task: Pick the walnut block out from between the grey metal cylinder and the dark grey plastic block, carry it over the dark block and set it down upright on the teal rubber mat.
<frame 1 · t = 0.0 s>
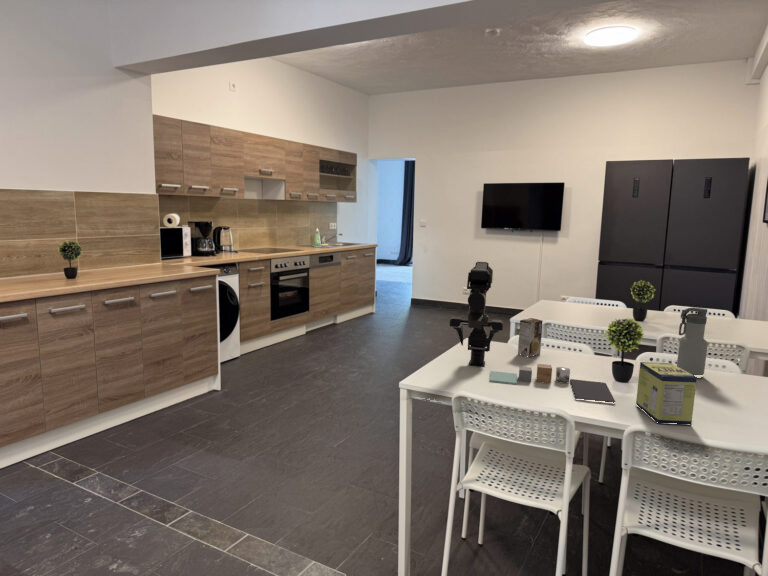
hand: (474, 346, 183), 15 cm above the table, tool pointing down, fingers open, 9 cm apart
walnut block: (543, 381, 193), on the table
water bottle: (688, 375, 206), on the table
dark grey plastic block: (524, 379, 194), on the table
coffee box: (528, 354, 231), on the table
notebook: (591, 394, 182), on the table
protein box: (661, 416, 162), on the table
grey metal cylinder: (562, 381, 193), on the table
teal mat: (503, 378, 195), on the table
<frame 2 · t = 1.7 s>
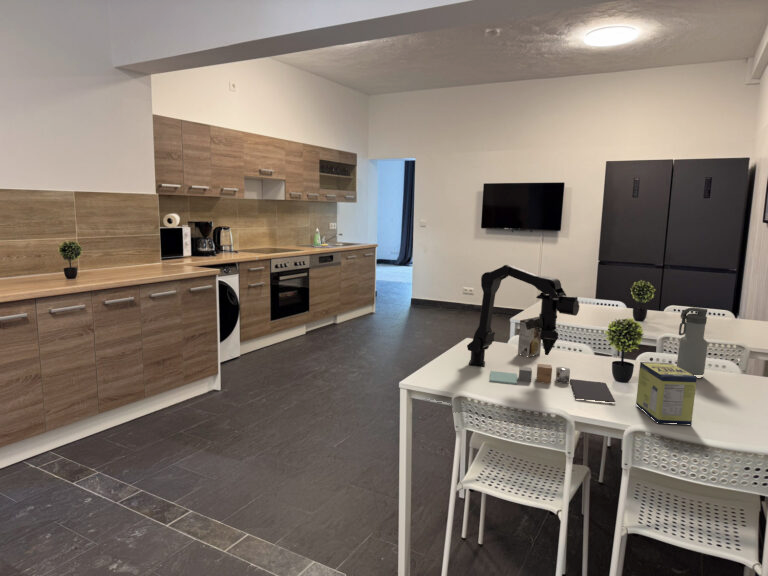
hand: (545, 351, 191), 11 cm above the table, tool pointing down, fingers open, 9 cm apart
nothing on the table moved.
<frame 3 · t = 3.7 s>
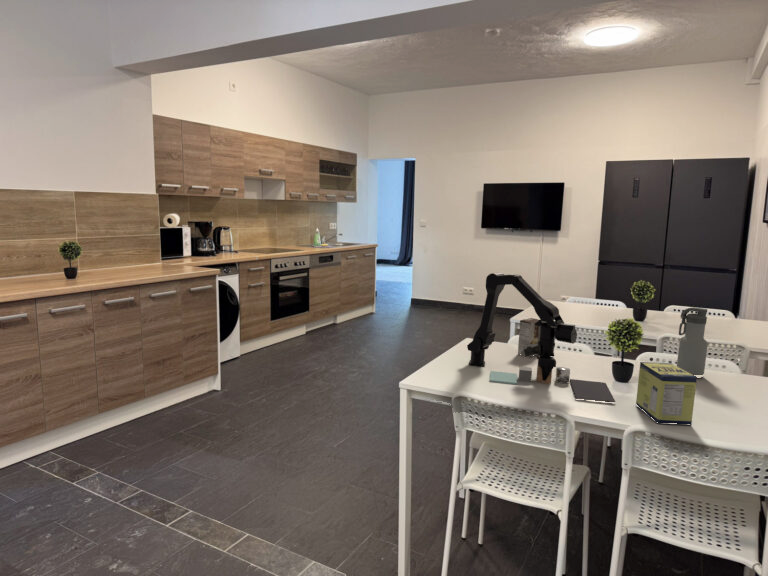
hand: (543, 378, 193), 1 cm above the table, tool pointing down, fingers closed on walnut block, 5 cm apart
walnut block: (543, 380, 193), on the table, touching gripper
everything else where it was.
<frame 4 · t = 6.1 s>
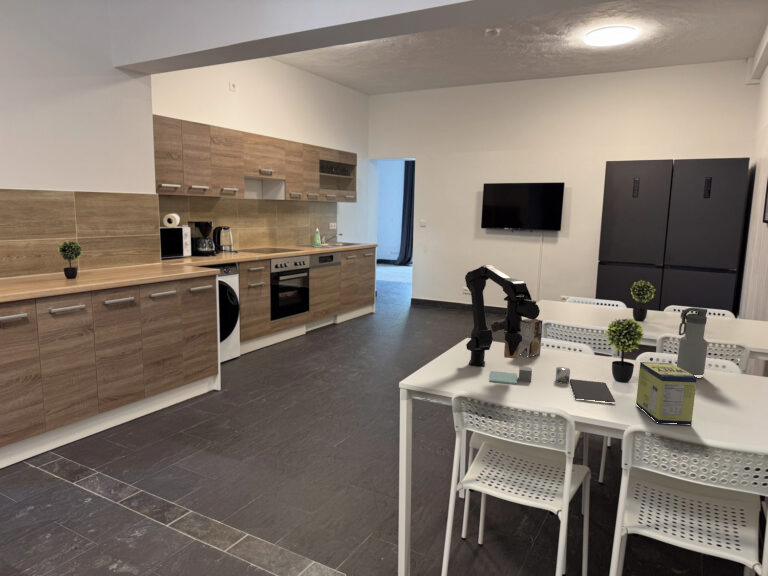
hand: (510, 353, 193), 10 cm above the table, tool pointing down, fingers closed on walnut block, 5 cm apart
walnut block: (510, 356, 193), point 9 cm above the table, touching gripper
everything else where it was.
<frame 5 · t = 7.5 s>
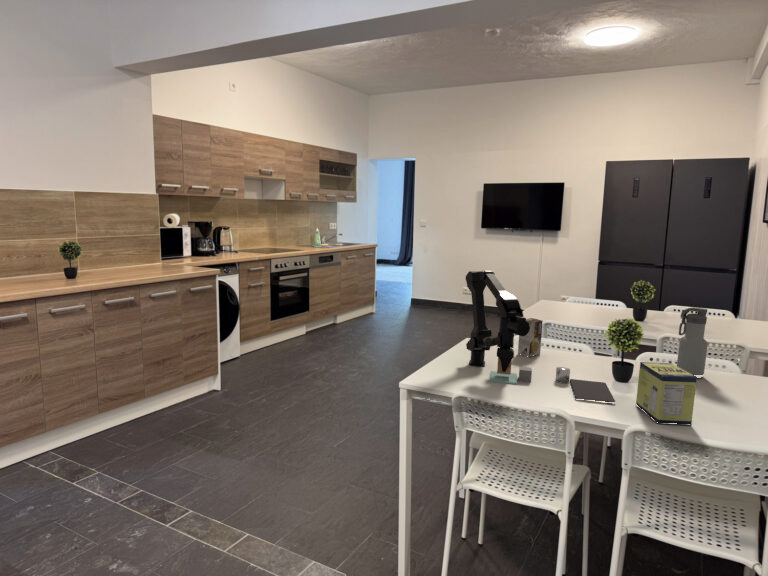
hand: (503, 369, 194), 3 cm above the table, tool pointing down, fingers closed on walnut block, 5 cm apart
walnut block: (503, 372, 194), point 2 cm above the table, touching gripper
everything else where it was.
when the fingers open (3 cm above the table, at t = 8.5 s): walnut block stays where it is, resting on teal mat.
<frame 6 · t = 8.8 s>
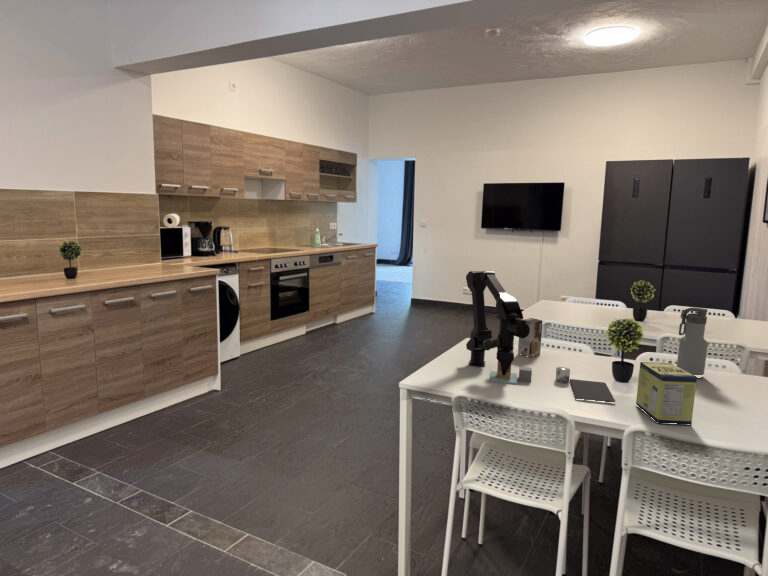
hand: (503, 371, 194), 3 cm above the table, tool pointing down, fingers open, 8 cm apart
walnut block: (503, 376, 195), point 1 cm above the table, touching teal mat
everything else where it was.
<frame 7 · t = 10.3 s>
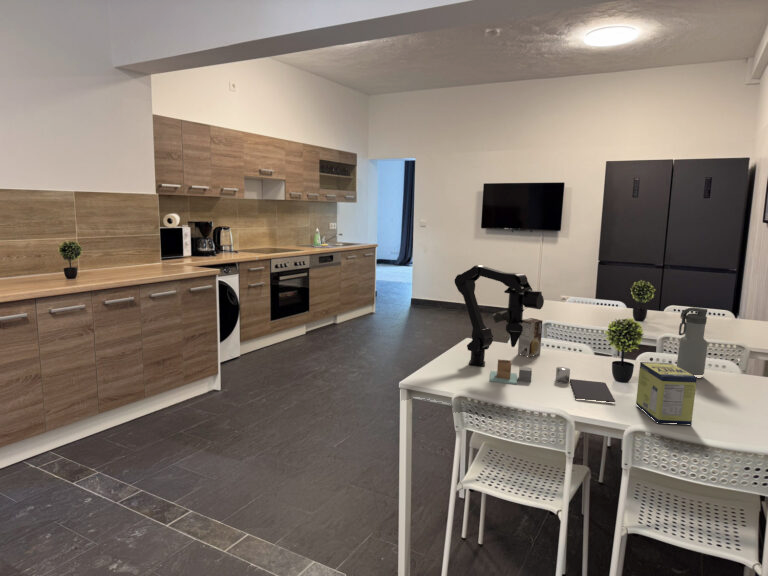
hand: (512, 344, 200), 12 cm above the table, tool pointing down, fingers open, 9 cm apart
nothing on the table moved.
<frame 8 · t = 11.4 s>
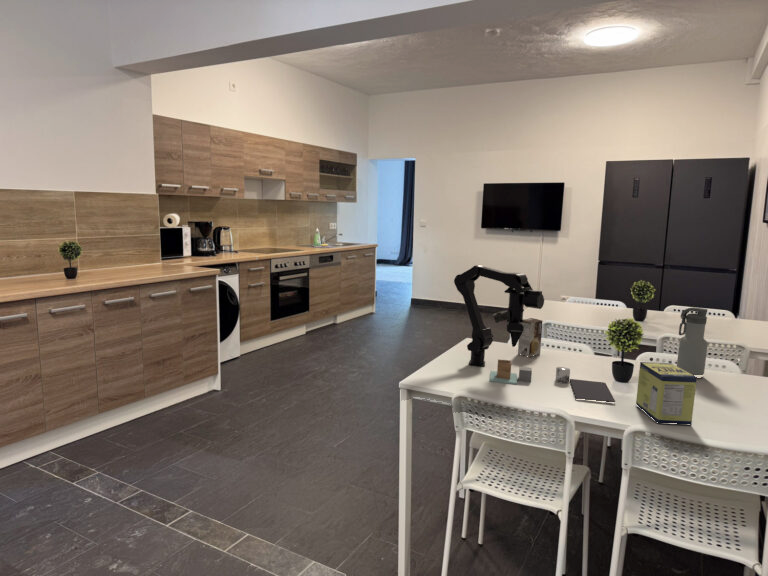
hand: (513, 343, 200), 12 cm above the table, tool pointing down, fingers open, 9 cm apart
nothing on the table moved.
at the end: walnut block inside the target area on the teal mat (0.0 cm from its centre), point 0.6 cm above the teal mat's base; walnut block tilted 0°; dark grey plastic block moved 0.1 cm from its start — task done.
